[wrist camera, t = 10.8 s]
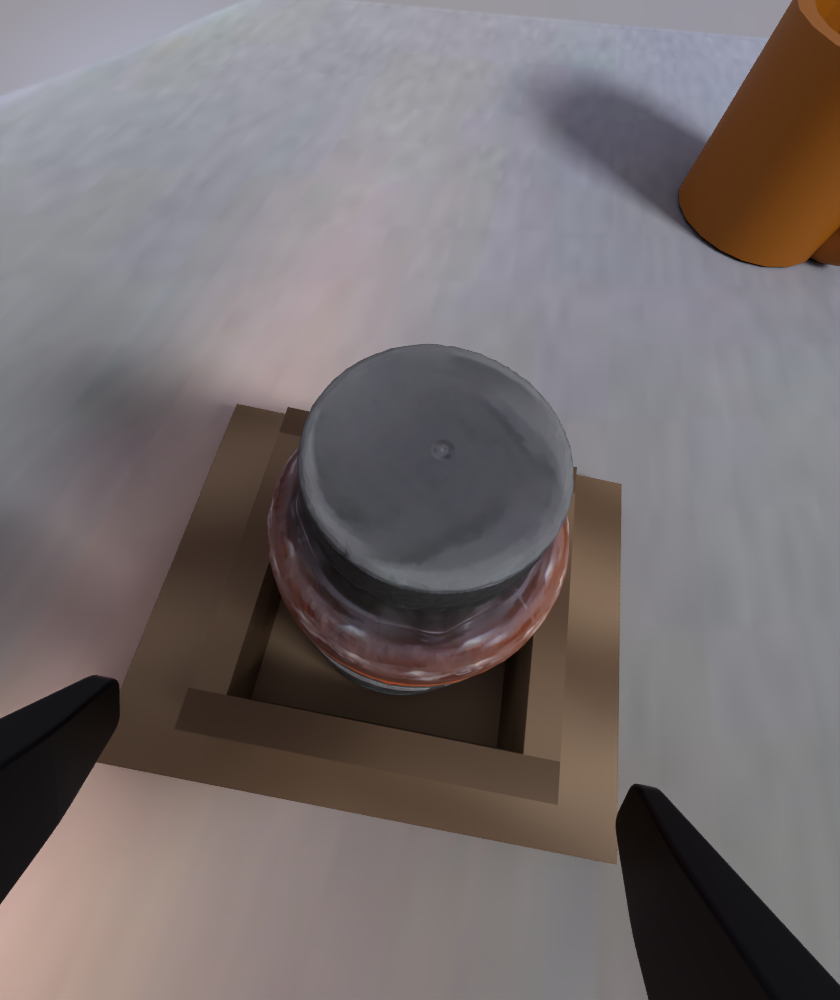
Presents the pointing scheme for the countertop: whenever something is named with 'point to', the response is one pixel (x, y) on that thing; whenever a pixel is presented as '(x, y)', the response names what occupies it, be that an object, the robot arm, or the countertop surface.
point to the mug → (777, 150)
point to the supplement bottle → (423, 518)
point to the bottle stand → (369, 714)
